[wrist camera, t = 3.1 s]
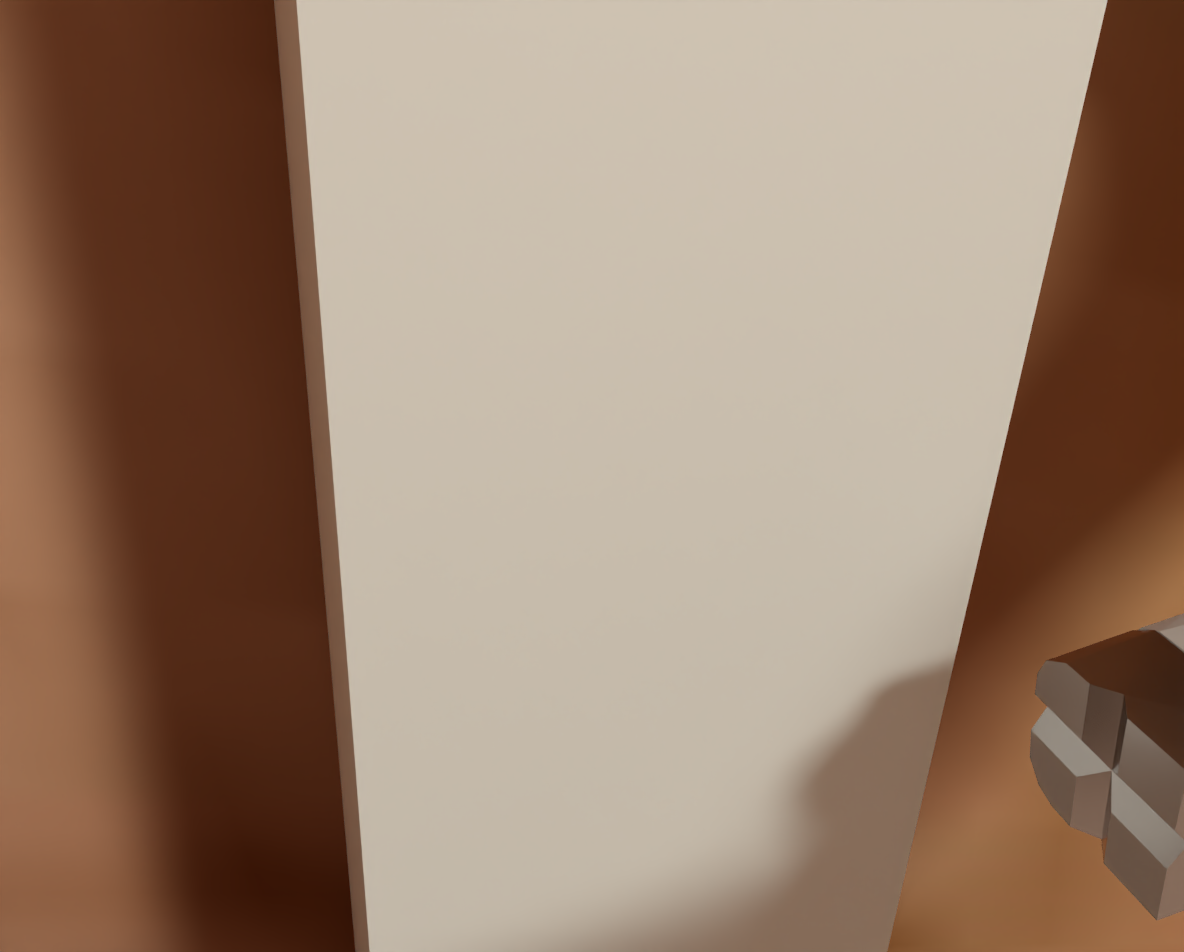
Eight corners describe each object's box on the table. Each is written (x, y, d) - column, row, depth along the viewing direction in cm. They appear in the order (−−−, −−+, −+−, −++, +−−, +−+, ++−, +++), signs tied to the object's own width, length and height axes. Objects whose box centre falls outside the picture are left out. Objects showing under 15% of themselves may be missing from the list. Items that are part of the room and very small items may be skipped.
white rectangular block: (711, 1021, 20) (815, 1258, 16) (367, 1109, 18) (403, 1392, 14) (898, -390, 10) (1228, -525, 7) (232, -478, 9) (241, -710, 5)
